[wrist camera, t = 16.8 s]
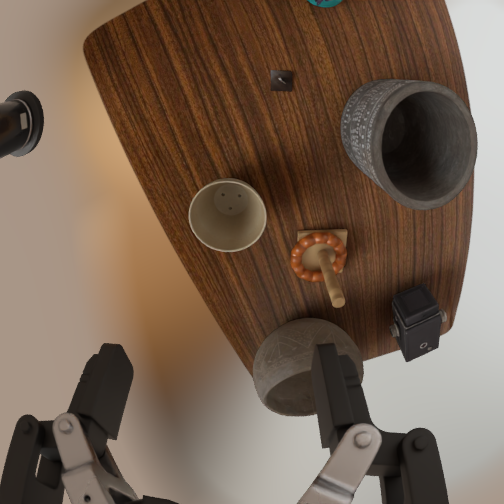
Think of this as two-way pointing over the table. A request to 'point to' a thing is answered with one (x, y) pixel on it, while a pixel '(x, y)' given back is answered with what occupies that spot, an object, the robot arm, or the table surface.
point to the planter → (411, 140)
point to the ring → (310, 241)
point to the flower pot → (227, 215)
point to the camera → (416, 321)
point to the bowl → (296, 364)
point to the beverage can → (325, 2)
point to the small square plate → (281, 80)
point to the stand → (325, 263)
